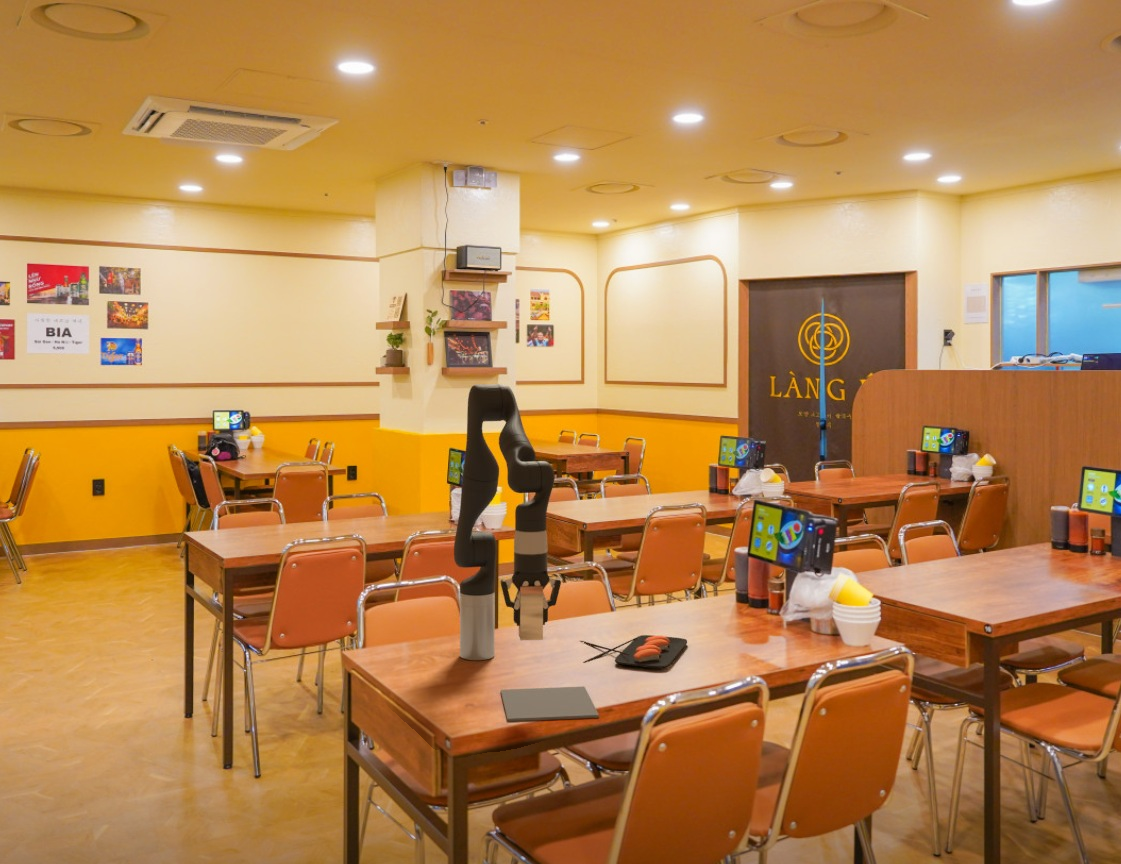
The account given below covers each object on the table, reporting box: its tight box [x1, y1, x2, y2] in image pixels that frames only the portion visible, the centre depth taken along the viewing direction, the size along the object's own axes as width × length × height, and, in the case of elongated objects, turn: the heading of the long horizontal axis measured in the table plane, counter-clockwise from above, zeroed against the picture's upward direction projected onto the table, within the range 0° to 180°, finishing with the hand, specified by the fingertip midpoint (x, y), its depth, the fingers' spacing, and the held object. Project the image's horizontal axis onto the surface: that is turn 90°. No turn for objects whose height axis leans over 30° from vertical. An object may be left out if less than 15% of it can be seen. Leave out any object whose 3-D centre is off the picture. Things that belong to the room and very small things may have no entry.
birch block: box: [518, 585, 544, 641], centre depth 220 cm, size 5×5×12 cm
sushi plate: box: [580, 634, 688, 669], centre depth 265 cm, size 29×30×4 cm
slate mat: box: [500, 686, 600, 722], centre depth 222 cm, size 20×20×1 cm
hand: (530, 624), depth 221 cm, fingers closed on birch block, 5 cm apart
